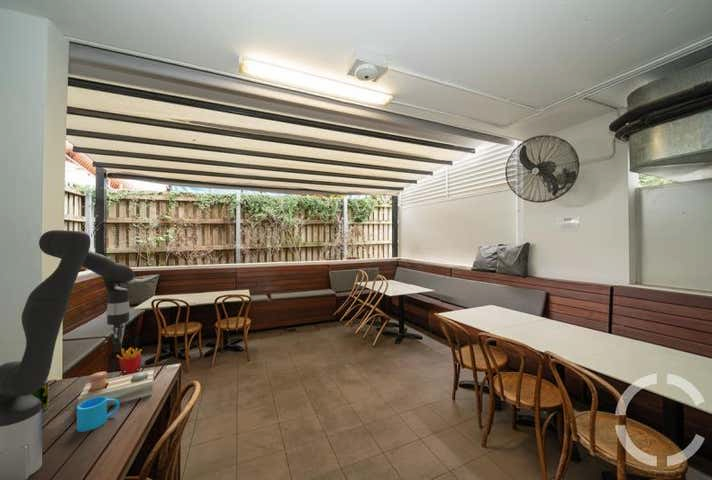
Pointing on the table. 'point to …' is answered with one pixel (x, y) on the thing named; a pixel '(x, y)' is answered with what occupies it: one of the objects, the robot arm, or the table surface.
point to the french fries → (130, 361)
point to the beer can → (43, 395)
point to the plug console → (121, 389)
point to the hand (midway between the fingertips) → (118, 351)
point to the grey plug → (139, 376)
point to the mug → (93, 413)
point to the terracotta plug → (98, 381)
